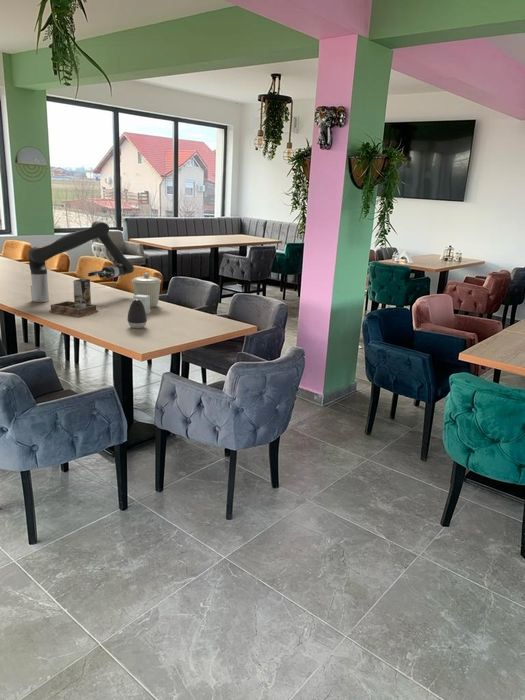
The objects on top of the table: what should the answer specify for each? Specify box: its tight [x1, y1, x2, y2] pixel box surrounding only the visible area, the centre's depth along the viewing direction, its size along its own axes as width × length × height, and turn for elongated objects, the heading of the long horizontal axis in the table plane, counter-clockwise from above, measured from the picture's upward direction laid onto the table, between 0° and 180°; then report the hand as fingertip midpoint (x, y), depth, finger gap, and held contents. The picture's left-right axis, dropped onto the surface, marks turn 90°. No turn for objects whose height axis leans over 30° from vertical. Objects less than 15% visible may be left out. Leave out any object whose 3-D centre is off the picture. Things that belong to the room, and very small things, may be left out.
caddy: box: [48, 300, 99, 318], centre depth 311 cm, size 22×16×5 cm
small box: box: [132, 294, 151, 315], centre depth 315 cm, size 8×6×10 cm
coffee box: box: [73, 278, 92, 304], centre depth 324 cm, size 9×6×16 cm
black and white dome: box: [127, 299, 148, 329], centre depth 282 cm, size 10×10×15 cm
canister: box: [131, 272, 162, 309], centre depth 331 cm, size 18×18×21 cm
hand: (94, 275), depth 332 cm, fingers open, 8 cm apart
